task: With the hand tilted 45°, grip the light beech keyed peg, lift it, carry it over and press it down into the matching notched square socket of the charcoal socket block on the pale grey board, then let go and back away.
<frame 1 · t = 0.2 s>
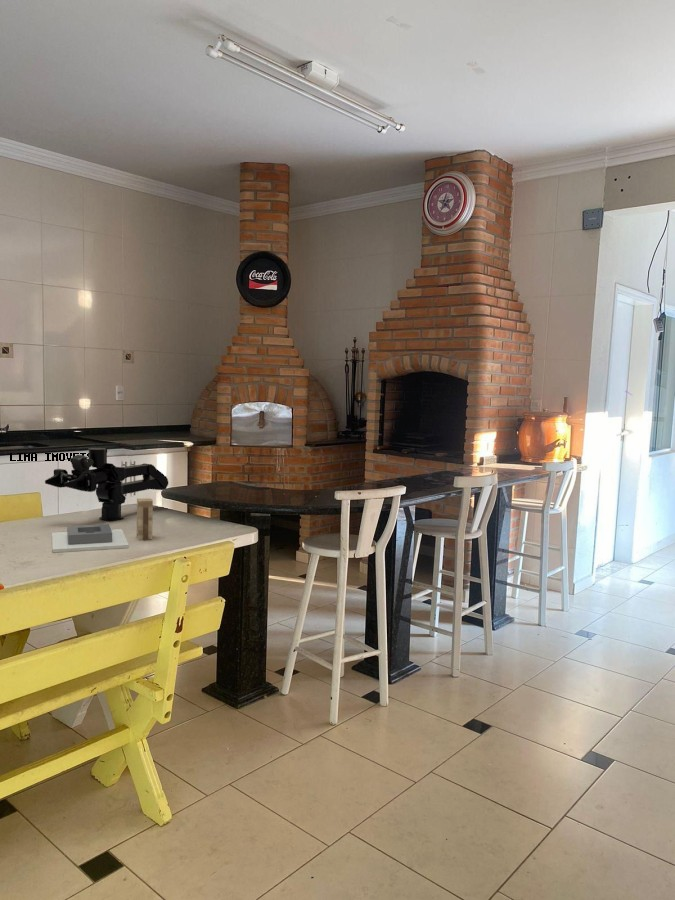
hand: (54, 483, 230), 16 cm above the table, fingers open, 9 cm apart
keyed peg: (144, 537, 227), on the table
socket block: (89, 541, 220), on the table
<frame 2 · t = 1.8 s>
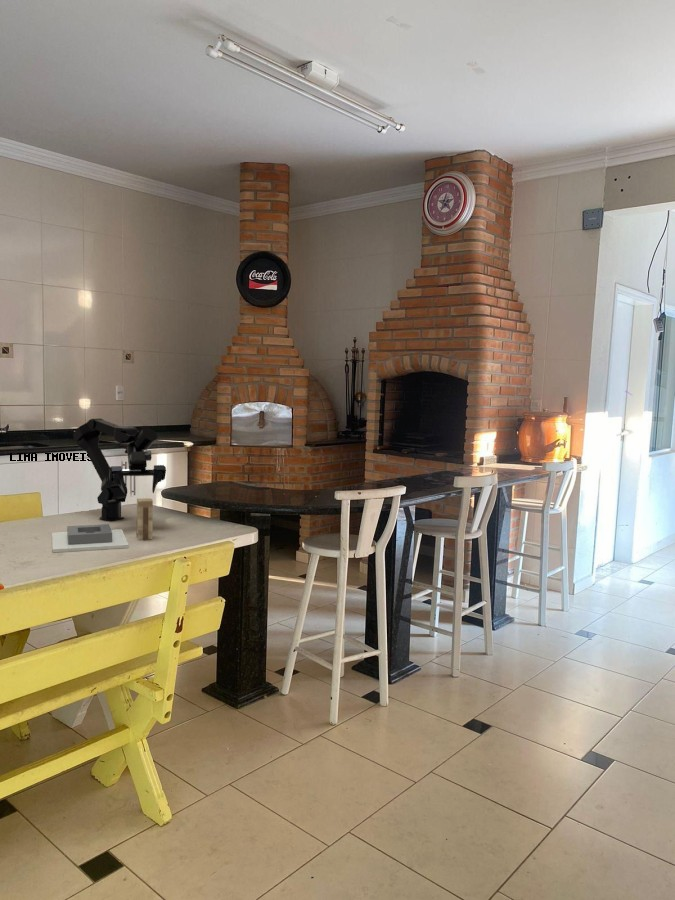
hand: (139, 492, 233), 14 cm above the table, fingers open, 9 cm apart
nothing on the table moved.
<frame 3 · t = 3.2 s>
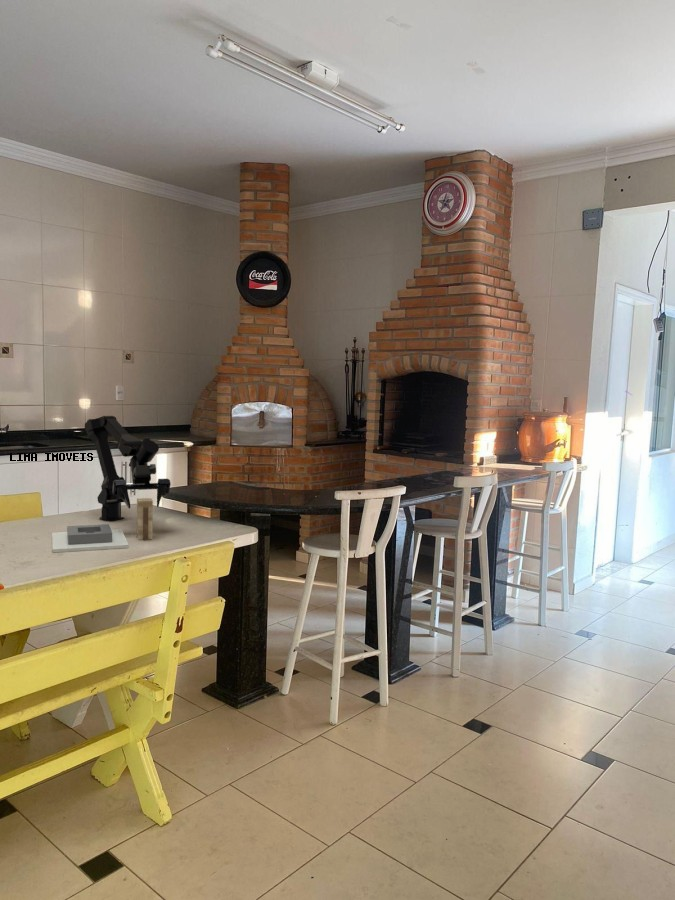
hand: (143, 507, 229), 10 cm above the table, fingers open, 9 cm apart
nothing on the table moved.
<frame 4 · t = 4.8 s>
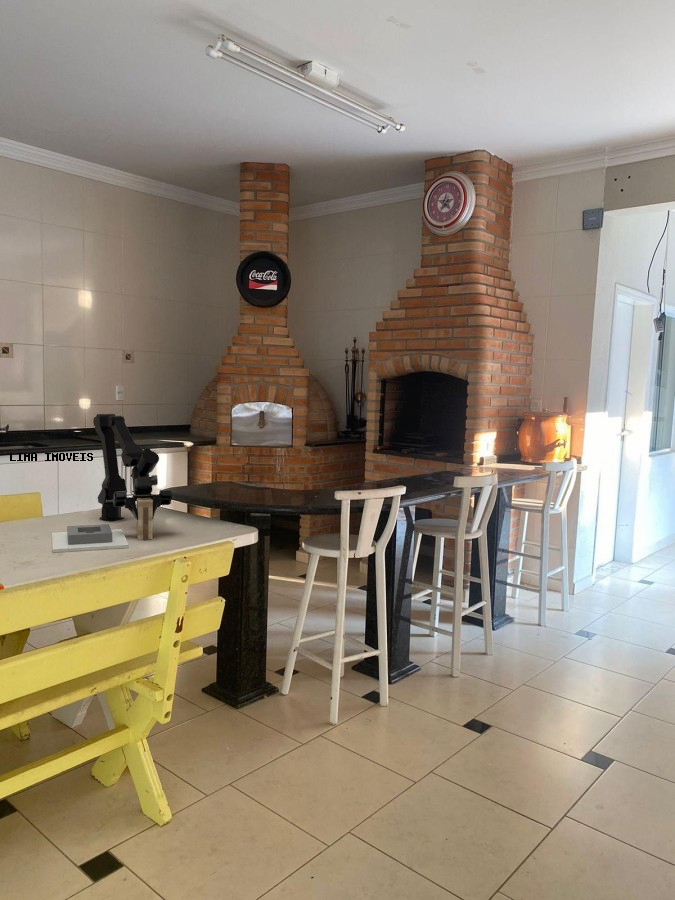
hand: (145, 519, 225), 7 cm above the table, fingers closed on keyed peg, 4 cm apart
keyed peg: (144, 537, 227), on the table, touching gripper
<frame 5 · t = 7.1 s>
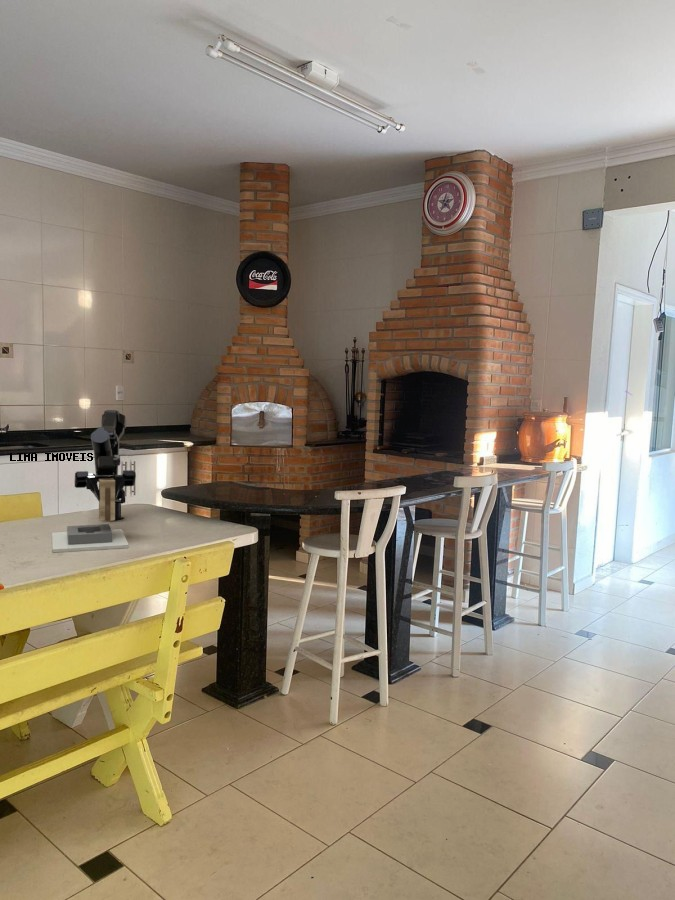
hand: (107, 500, 219), 14 cm above the table, fingers closed on keyed peg, 4 cm apart
keyed peg: (106, 519, 221), point 7 cm above the table, touching gripper
when the fingers open (8 cm above the table, at t = 9.2 s): keyed peg stays where it is, resting on socket block.
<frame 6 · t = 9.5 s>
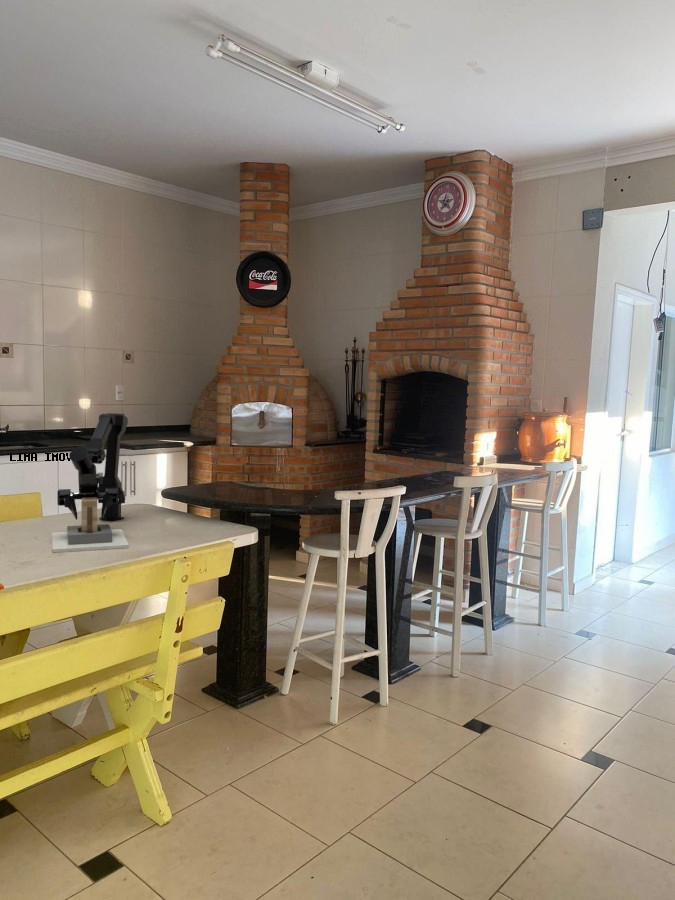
hand: (89, 518, 217), 8 cm above the table, fingers open, 7 cm apart
keyed peg: (89, 538, 219), point 1 cm above the table, touching socket block
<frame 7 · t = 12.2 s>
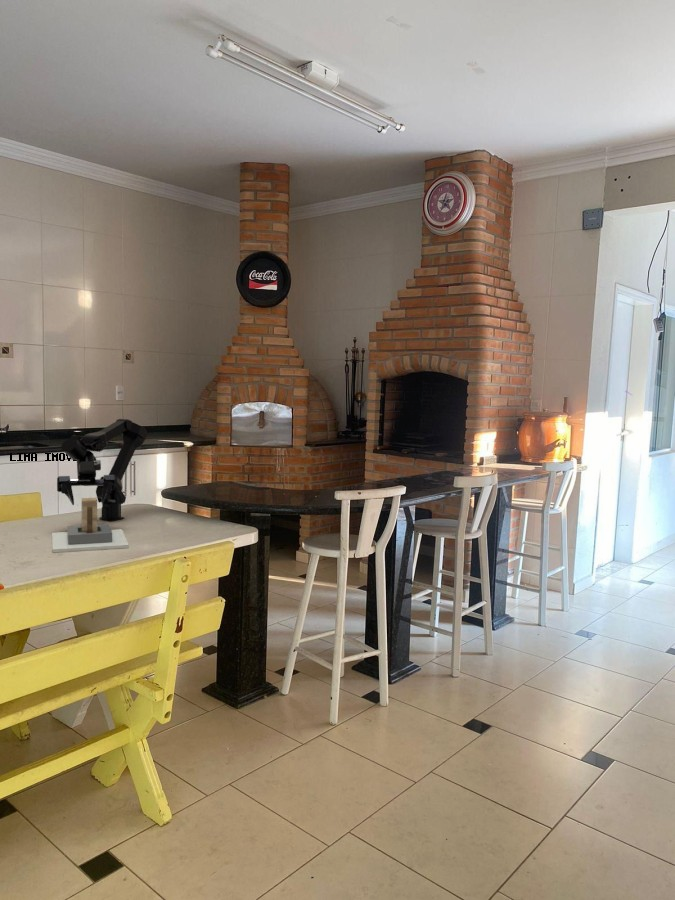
hand: (88, 503, 227), 11 cm above the table, fingers open, 9 cm apart
nothing on the table moved.
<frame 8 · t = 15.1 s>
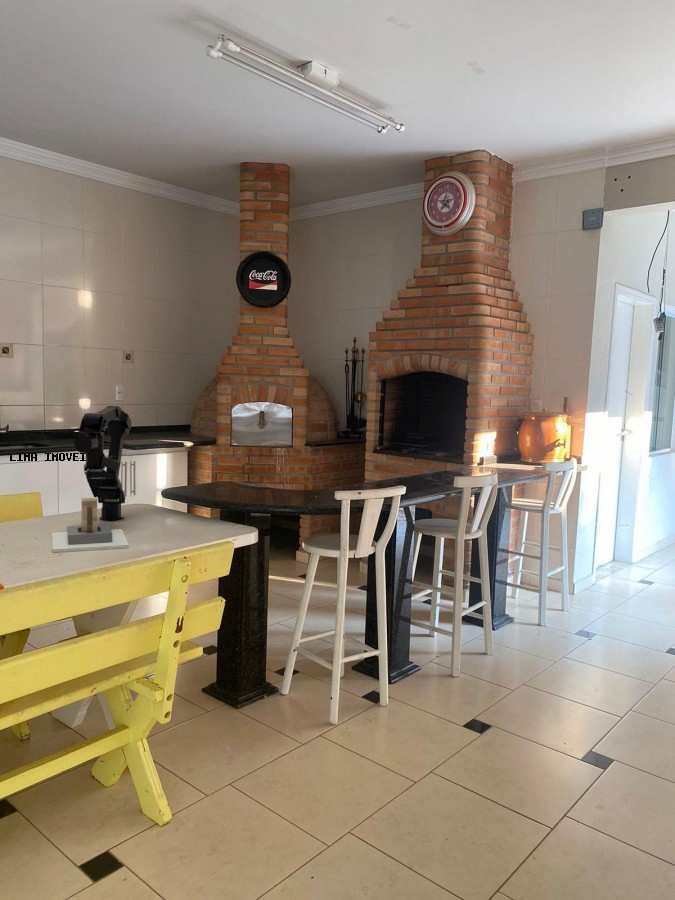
hand: (94, 494, 236), 12 cm above the table, fingers open, 9 cm apart
nothing on the table moved.
at the end: keyed peg 0.0 cm off-centre on the socket block, point 1.0 cm above the socket block's base; keyed peg tilted 0°; the gripper is holding nothing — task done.
